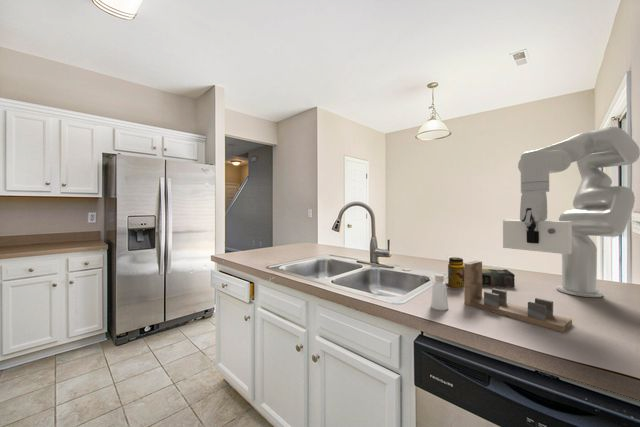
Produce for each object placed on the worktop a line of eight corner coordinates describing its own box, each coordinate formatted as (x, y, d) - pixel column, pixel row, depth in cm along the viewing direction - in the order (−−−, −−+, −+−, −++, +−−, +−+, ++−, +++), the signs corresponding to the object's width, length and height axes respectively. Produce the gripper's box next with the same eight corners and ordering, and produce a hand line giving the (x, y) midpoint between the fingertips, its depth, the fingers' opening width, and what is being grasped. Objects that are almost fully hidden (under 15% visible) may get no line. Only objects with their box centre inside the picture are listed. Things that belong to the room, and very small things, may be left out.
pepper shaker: (427, 305, 92) (427, 273, 91) (441, 303, 93) (441, 272, 93) (437, 311, 86) (437, 277, 86) (452, 309, 88) (452, 276, 87)
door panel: (506, 246, 99) (506, 219, 99) (571, 253, 84) (571, 221, 84) (501, 248, 97) (501, 220, 97) (567, 254, 82) (567, 222, 82)
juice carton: (460, 284, 115) (460, 270, 115) (456, 279, 125) (456, 265, 125) (515, 289, 109) (515, 274, 109) (506, 282, 118) (506, 268, 118)
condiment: (466, 290, 108) (466, 260, 107) (443, 288, 110) (443, 259, 110) (463, 284, 115) (463, 257, 114) (441, 283, 117) (441, 256, 117)
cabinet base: (476, 298, 97) (476, 260, 97) (572, 324, 76) (572, 275, 75) (464, 303, 93) (464, 263, 92) (562, 332, 71) (563, 279, 71)
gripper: (530, 188, 98) (531, 239, 98) (511, 188, 89) (511, 243, 89) (557, 187, 91) (557, 241, 92) (539, 186, 82) (539, 246, 83)
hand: (534, 241), depth 91 cm, fingers closed on door panel, 3 cm apart
